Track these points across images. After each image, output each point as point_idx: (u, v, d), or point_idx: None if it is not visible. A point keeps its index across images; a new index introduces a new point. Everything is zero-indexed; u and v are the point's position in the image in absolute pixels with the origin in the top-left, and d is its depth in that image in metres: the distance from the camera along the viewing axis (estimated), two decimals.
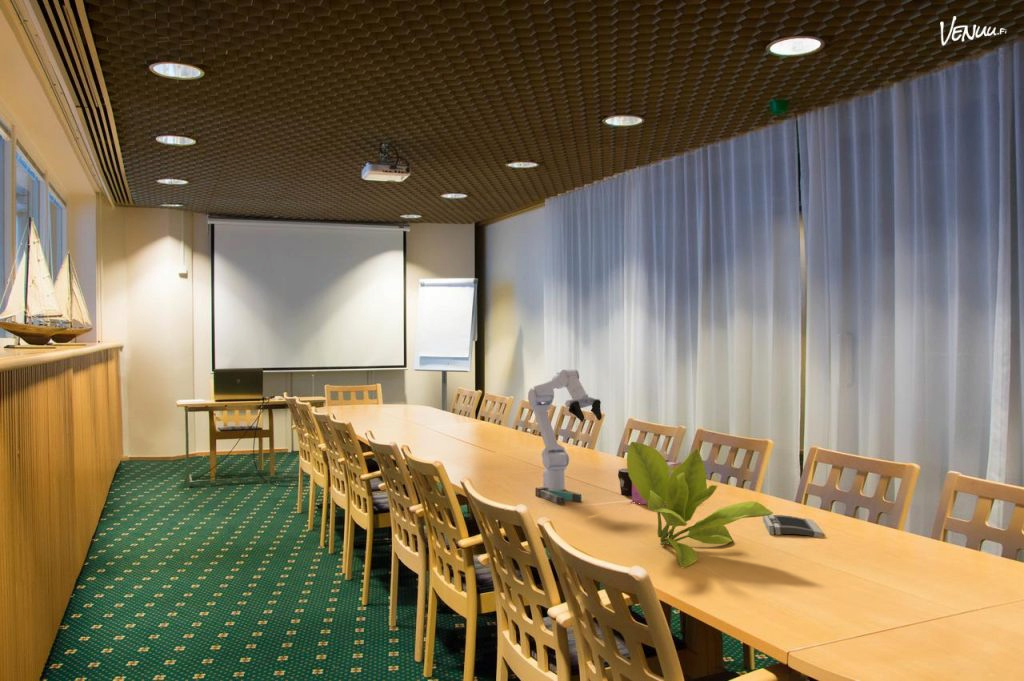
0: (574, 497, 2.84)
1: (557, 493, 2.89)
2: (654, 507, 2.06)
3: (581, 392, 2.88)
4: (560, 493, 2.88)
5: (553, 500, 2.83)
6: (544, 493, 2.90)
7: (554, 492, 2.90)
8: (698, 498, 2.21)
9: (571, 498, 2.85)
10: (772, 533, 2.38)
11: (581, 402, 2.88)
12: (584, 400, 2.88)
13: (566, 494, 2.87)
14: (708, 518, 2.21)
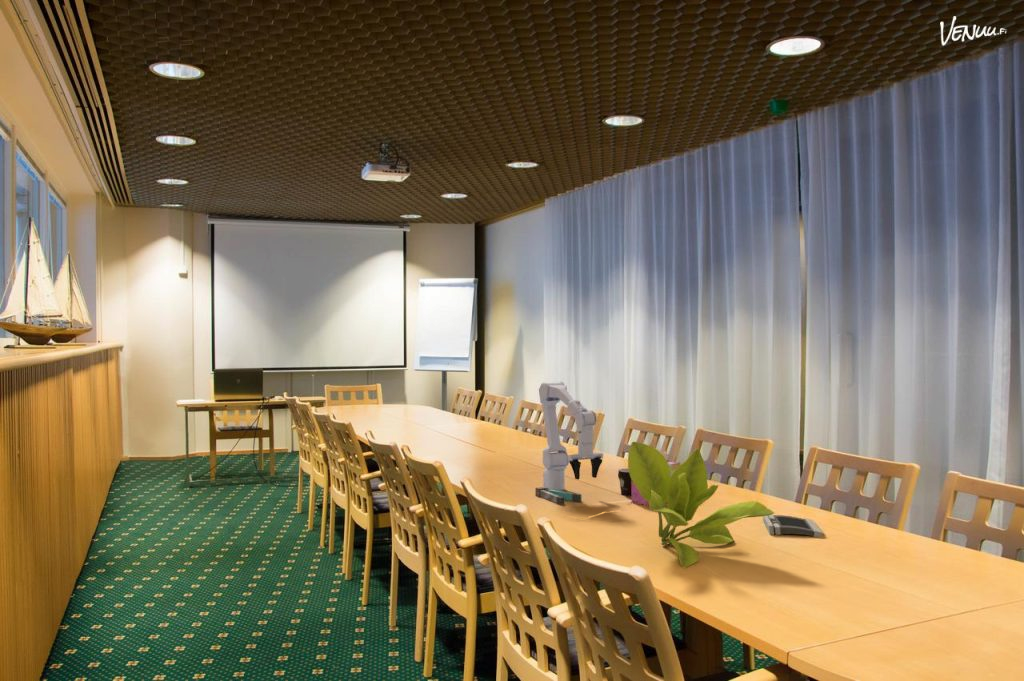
0: (574, 497, 2.84)
1: (557, 493, 2.89)
2: (655, 507, 2.06)
3: (588, 449, 2.87)
4: (560, 493, 2.88)
5: (553, 500, 2.83)
6: (544, 493, 2.90)
7: (554, 492, 2.90)
8: (699, 498, 2.21)
9: (571, 498, 2.85)
10: (772, 533, 2.38)
11: None
12: None
13: (566, 494, 2.87)
14: (709, 518, 2.21)
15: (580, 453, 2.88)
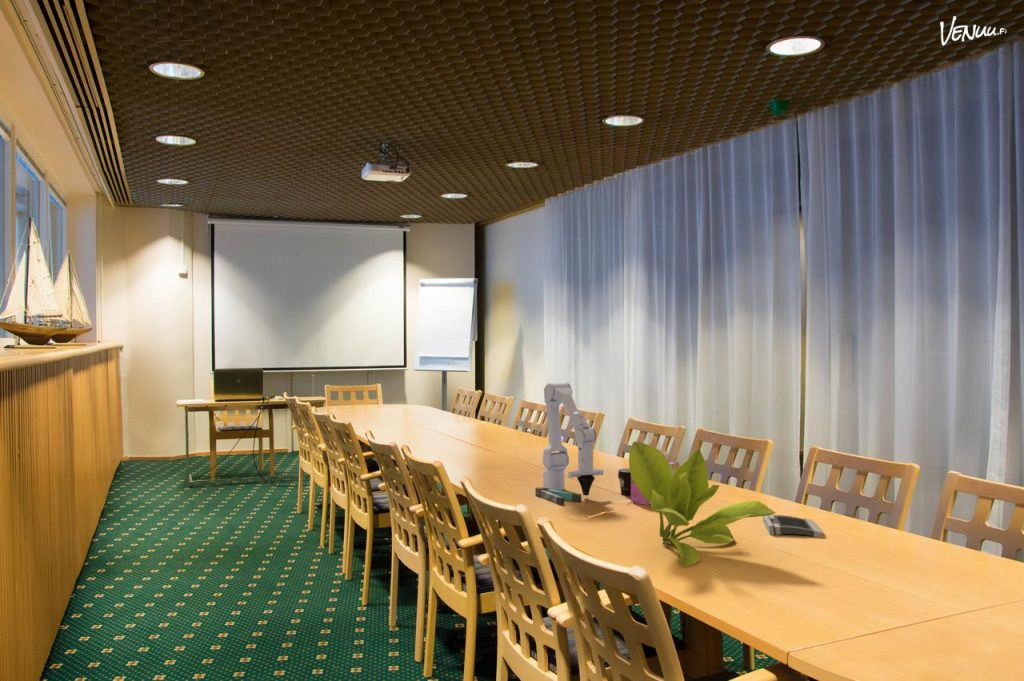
0: (574, 497, 2.84)
1: (557, 493, 2.89)
2: (657, 507, 2.06)
3: (588, 466, 2.87)
4: (560, 493, 2.88)
5: (553, 500, 2.83)
6: (544, 493, 2.90)
7: (554, 492, 2.90)
8: (700, 498, 2.21)
9: (571, 498, 2.85)
10: (772, 533, 2.38)
11: None
12: None
13: (566, 494, 2.87)
14: (710, 518, 2.21)
15: (580, 470, 2.88)
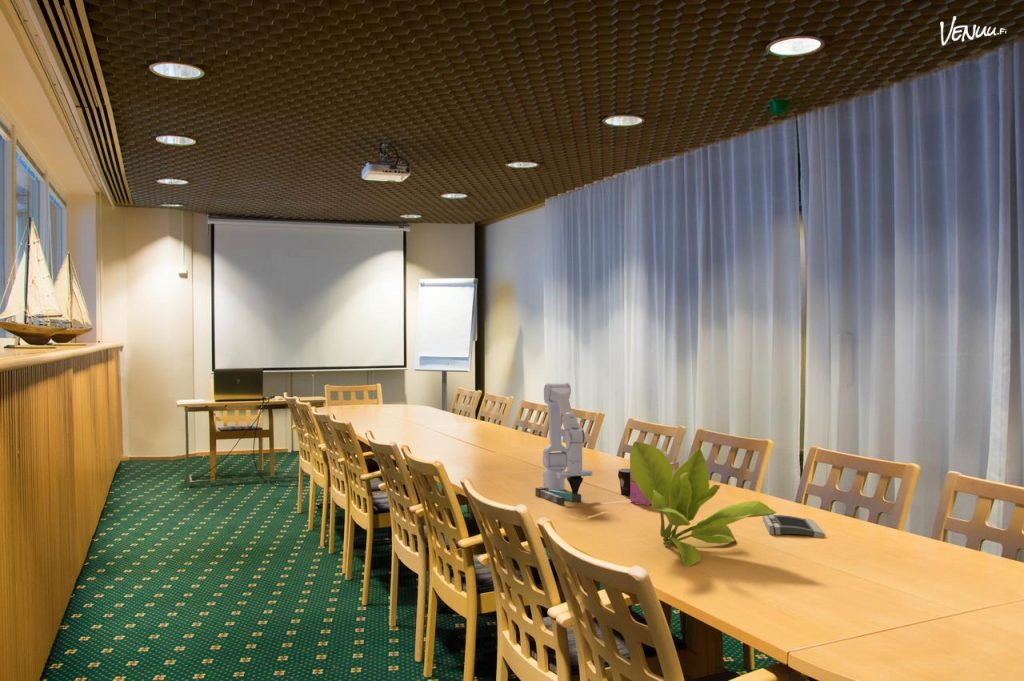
0: (574, 497, 2.84)
1: (557, 493, 2.89)
2: (658, 507, 2.07)
3: (577, 467, 2.84)
4: (560, 493, 2.88)
5: (553, 500, 2.83)
6: (544, 493, 2.90)
7: (554, 492, 2.90)
8: (701, 498, 2.21)
9: (571, 498, 2.85)
10: (772, 533, 2.38)
11: None
12: None
13: (566, 494, 2.87)
14: (711, 518, 2.22)
15: (569, 471, 2.85)
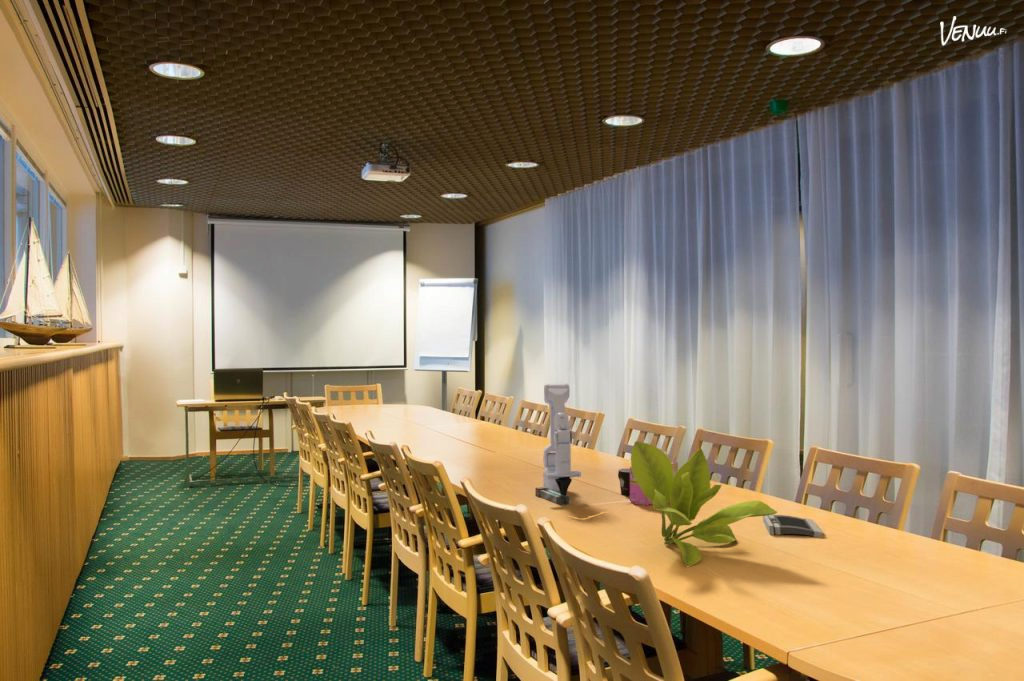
0: None
1: None
2: (659, 506, 2.07)
3: (565, 468, 2.82)
4: None
5: (553, 500, 2.83)
6: (544, 493, 2.90)
7: (550, 492, 2.89)
8: (702, 497, 2.21)
9: None
10: (772, 533, 2.38)
11: None
12: None
13: None
14: (712, 517, 2.22)
15: (557, 472, 2.83)
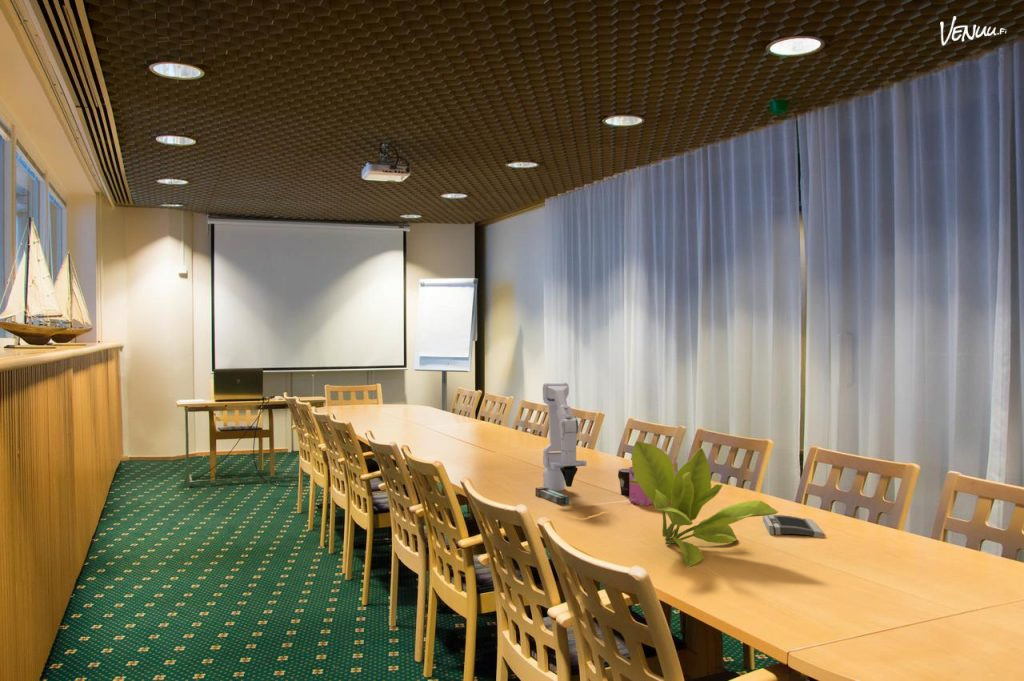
0: None
1: None
2: (660, 506, 2.07)
3: (571, 457, 2.83)
4: None
5: (553, 500, 2.83)
6: (544, 493, 2.90)
7: (550, 492, 2.89)
8: (703, 497, 2.21)
9: None
10: (772, 533, 2.38)
11: None
12: None
13: None
14: (713, 517, 2.22)
15: (563, 461, 2.84)
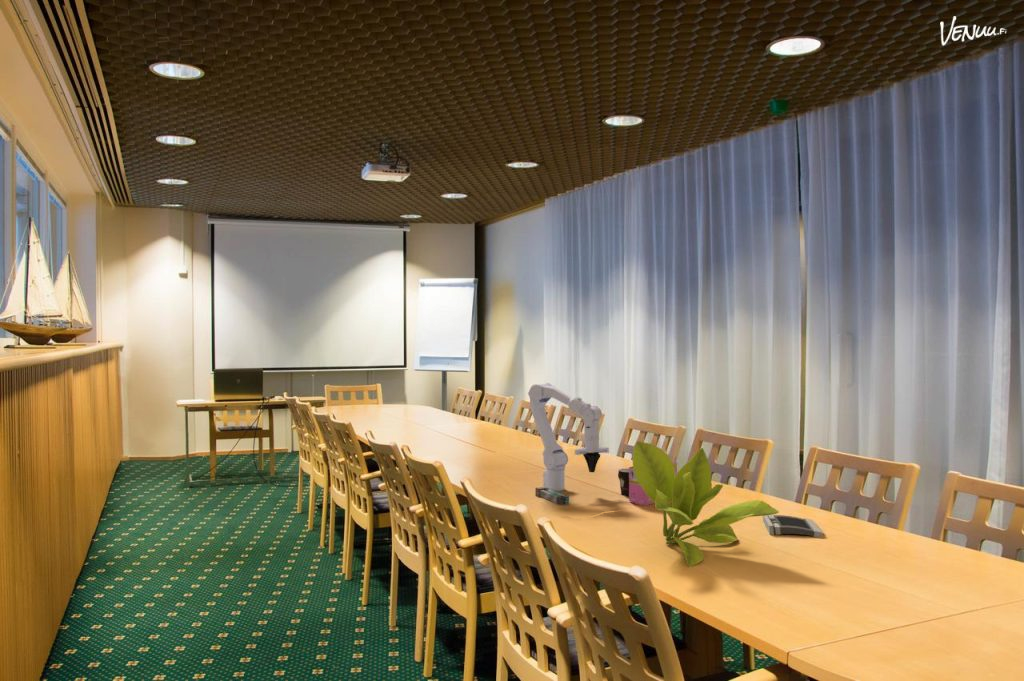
0: None
1: None
2: (661, 506, 2.07)
3: (594, 444, 2.95)
4: None
5: (553, 500, 2.83)
6: (544, 493, 2.90)
7: (550, 492, 2.89)
8: (704, 497, 2.22)
9: None
10: (772, 533, 2.38)
11: None
12: None
13: None
14: (714, 517, 2.22)
15: (586, 447, 2.96)
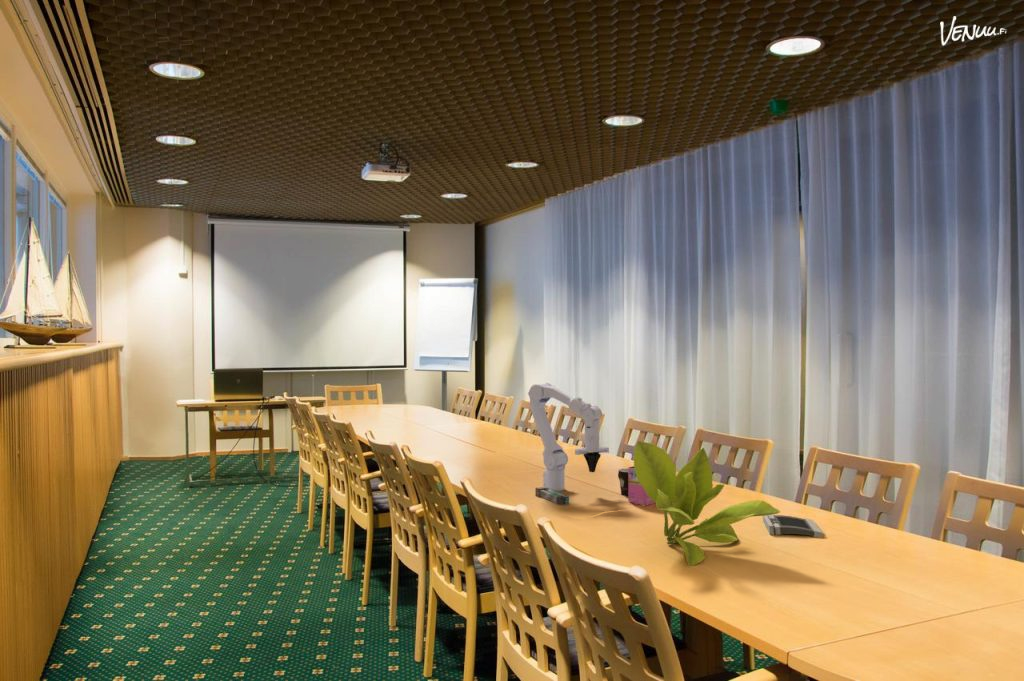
0: None
1: None
2: (662, 506, 2.07)
3: (594, 444, 2.95)
4: None
5: (553, 500, 2.83)
6: (544, 493, 2.90)
7: (550, 492, 2.89)
8: (705, 497, 2.22)
9: None
10: (772, 533, 2.38)
11: None
12: None
13: None
14: (715, 517, 2.22)
15: (586, 447, 2.96)
